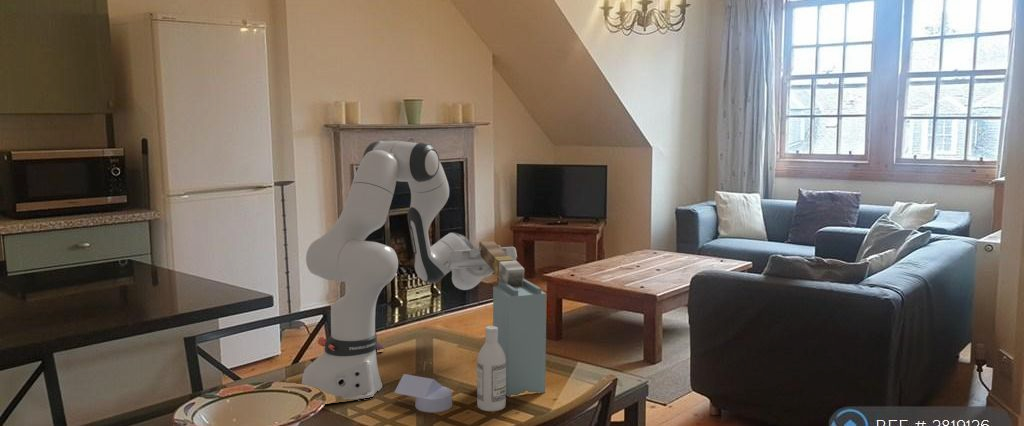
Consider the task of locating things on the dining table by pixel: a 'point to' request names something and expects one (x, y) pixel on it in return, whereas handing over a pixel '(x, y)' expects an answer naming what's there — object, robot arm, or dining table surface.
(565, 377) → the dining table surface
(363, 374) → the robot arm
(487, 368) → the bath foam
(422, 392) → the wedge on round base
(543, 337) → the pale blue tall block
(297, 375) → the dining table surface
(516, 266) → the patterned long box
